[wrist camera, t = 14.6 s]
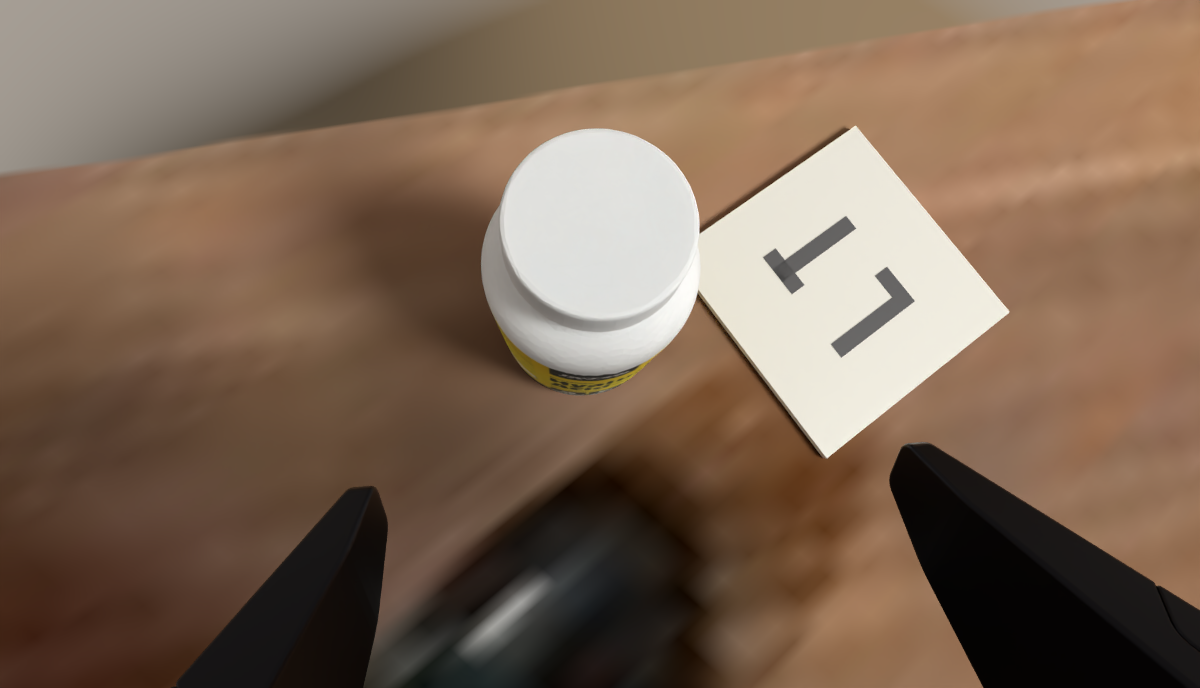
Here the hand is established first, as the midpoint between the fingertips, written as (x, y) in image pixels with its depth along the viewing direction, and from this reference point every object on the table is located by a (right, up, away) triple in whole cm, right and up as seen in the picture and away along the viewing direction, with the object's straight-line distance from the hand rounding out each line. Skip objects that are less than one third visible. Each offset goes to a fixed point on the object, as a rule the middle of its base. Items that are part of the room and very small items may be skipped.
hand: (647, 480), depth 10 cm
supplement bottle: (-1, +3, +11) cm, 12 cm away
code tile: (+8, +4, +12) cm, 15 cm away
